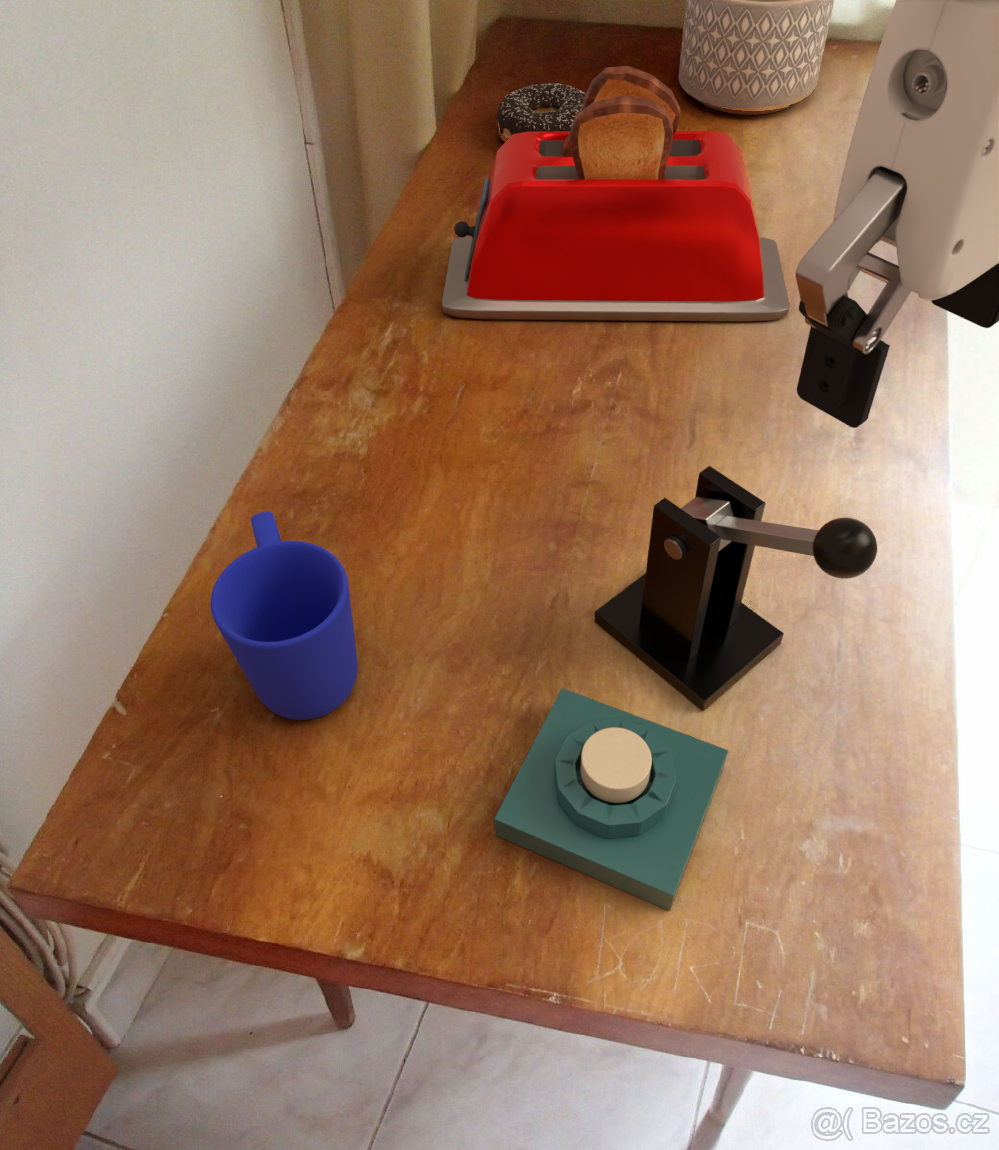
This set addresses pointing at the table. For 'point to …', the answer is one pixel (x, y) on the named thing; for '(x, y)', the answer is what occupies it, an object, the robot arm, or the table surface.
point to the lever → (794, 537)
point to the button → (615, 765)
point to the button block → (612, 830)
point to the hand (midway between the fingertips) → (899, 359)
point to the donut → (539, 109)
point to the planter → (752, 51)
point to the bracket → (694, 600)
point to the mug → (289, 623)
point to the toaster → (617, 221)
